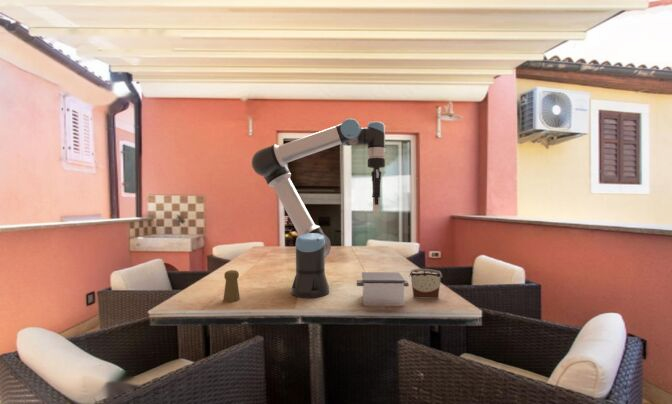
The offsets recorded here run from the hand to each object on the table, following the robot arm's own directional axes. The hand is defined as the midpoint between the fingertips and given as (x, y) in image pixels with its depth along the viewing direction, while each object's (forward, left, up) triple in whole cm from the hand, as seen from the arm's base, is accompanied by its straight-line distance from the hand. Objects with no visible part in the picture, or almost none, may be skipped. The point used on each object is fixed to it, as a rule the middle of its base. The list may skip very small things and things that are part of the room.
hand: (376, 212), depth 140 cm
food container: (+21, -7, -33) cm, 40 cm away
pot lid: (+8, -19, -24) cm, 32 cm away
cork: (-45, -40, -32) cm, 68 cm away
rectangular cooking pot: (+8, -19, -32) cm, 38 cm away
